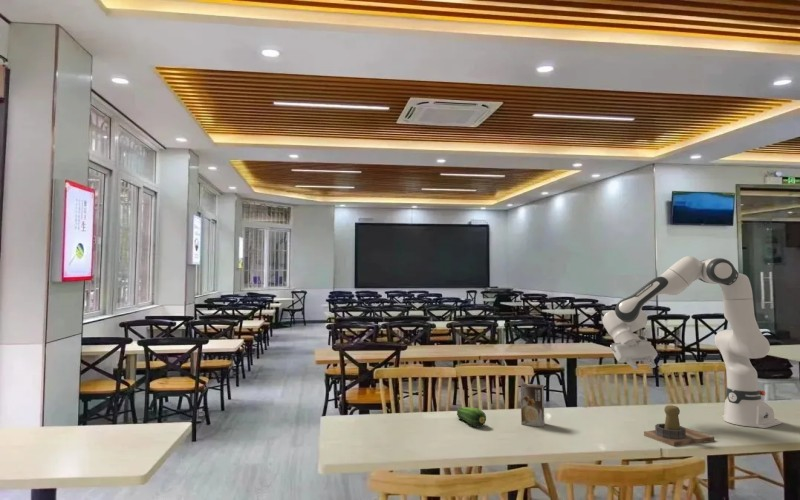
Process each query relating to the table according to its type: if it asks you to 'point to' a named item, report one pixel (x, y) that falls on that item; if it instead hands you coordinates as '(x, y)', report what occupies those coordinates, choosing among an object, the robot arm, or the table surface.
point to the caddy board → (687, 440)
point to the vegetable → (472, 416)
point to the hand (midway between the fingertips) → (645, 367)
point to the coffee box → (532, 405)
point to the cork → (672, 418)
